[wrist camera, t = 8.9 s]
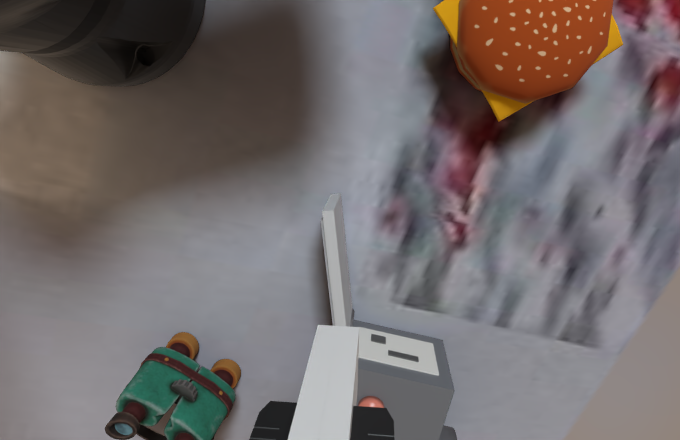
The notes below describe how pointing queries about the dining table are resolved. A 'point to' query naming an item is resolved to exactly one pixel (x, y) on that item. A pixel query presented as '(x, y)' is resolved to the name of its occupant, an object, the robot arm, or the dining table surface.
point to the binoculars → (176, 395)
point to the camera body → (405, 381)
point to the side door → (337, 262)
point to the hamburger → (527, 45)
